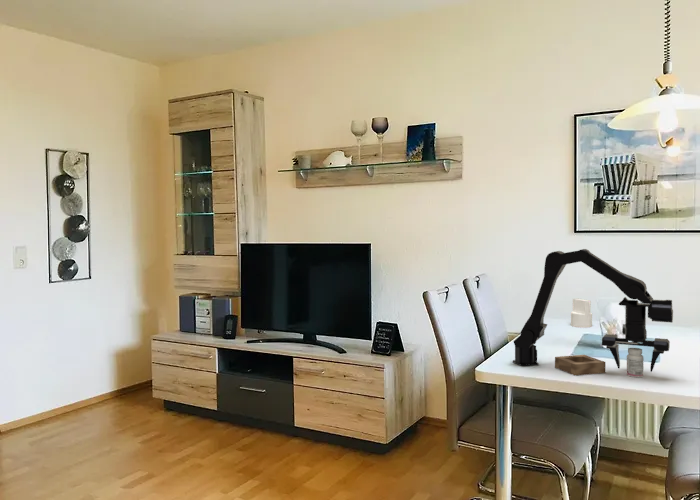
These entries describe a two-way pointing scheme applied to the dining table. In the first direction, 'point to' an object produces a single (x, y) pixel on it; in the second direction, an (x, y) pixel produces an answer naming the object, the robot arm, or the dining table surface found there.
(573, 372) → the socket block
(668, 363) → the dining table surface
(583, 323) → the base with upright slab
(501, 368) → the dining table surface
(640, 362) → the pill bottle
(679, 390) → the dining table surface
